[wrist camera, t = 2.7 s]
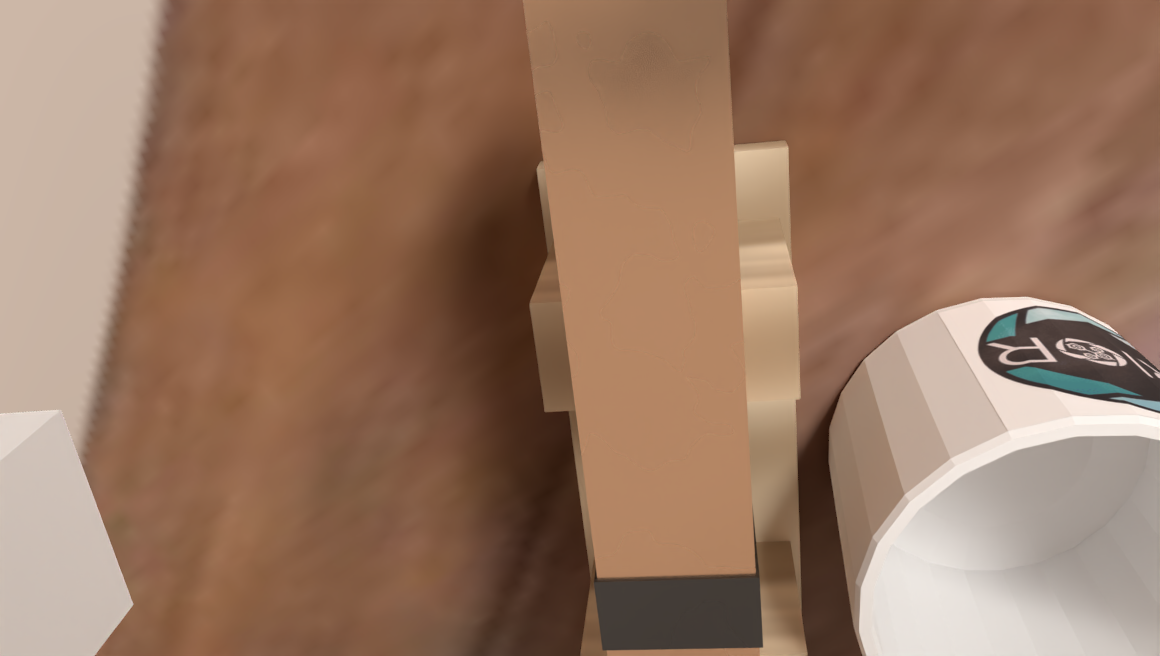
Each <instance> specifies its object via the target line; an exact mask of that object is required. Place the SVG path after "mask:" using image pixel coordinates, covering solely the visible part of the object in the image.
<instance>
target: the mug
mask: <svg viewBox="0 0 1160 656" xmlns="http://www.w3.org/2000/svg"><path fill="white" fill-rule="evenodd" d="M828 463H829V468H830V475H831V481H832V488H833V494H834V501H835V508H836V514H837V521H838V527H839V534H840V541H841V547H842V554H843V560H844V567H845V574H846V580H847V587H848V593H849V600H850V607H851V613H852V620H853V626H854V630H855V633H856V636H857V640H858V643H859V646H860V649H861V653H862V656H1160V371H1159V370H1158V369H1157V368H1156V367H1155V366H1154V365H1153V364H1152V363H1150V362H1149V361H1148V360H1147V359H1146V358H1145V357H1144V356H1143V355H1141V354H1140V353H1139V352H1138V351H1137V350H1136V349H1135V348H1134V347H1132V346H1131V345H1130V344H1129V343H1128V342H1127V341H1126V340H1125V339H1124V338H1122V337H1121V336H1120V335H1119V334H1118V333H1117V332H1116V331H1115V330H1113V329H1112V328H1111V327H1110V326H1109V325H1107V324H1105V323H1103V322H1101V321H1099V320H1098V319H1096V318H1094V317H1092V316H1090V315H1088V314H1086V313H1084V312H1082V311H1080V310H1078V309H1076V308H1074V307H1072V306H1068V305H1064V304H1059V303H1054V302H1049V301H1045V300H1040V299H1035V298H1030V297H1008V298H981V299H977V300H973V301H969V302H966V303H962V304H958V305H954V306H951V307H947V308H943V309H939V310H936V311H934V312H932V313H930V314H928V315H926V316H924V317H923V318H921V319H919V320H917V321H915V322H913V323H911V324H909V325H907V326H905V327H904V328H902V329H900V330H898V331H896V332H895V333H894V334H893V335H891V336H890V337H889V338H888V339H887V340H886V341H885V342H883V343H882V344H881V345H880V346H879V347H878V348H877V349H875V350H874V351H873V352H872V353H871V354H870V355H869V356H867V357H866V358H865V359H864V360H863V362H862V363H861V365H860V366H859V367H858V369H857V370H856V372H855V373H854V375H853V376H852V378H851V379H850V381H849V382H848V383H847V385H846V386H845V388H844V389H843V391H842V392H841V395H840V398H839V401H838V404H837V407H836V410H835V413H834V416H833V419H832V421H831V424H830V427H829V461H828Z"/></svg>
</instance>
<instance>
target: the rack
mask: <svg viewBox="0 0 1160 656" xmlns="http://www.w3.org/2000/svg"><path fill="white" fill-rule="evenodd" d="M734 160H735V179H736V199H737V218H738V237H739V257H740V276H741V296H742V315H743V335H744V354H745V373H746V393H747V412H748V432H749V451H750V471H751V490H752V506H753V516H754V526H755V536H756V546H757V556H758V566H759V576H760V593H761V614H762V634H763V648H760V656H808V655H807V647H806V641H805V634H804V627H803V621H802V600H801V566H800V532H799V498H798V464H797V430H796V399H800V363H799V326H798V290H797V283H796V279H795V275H794V271H793V268H792V261H791V228H790V194H789V160H788V146H787V143H786V140H785V141H774V142H762V143H750V144H739V145H734ZM537 176H538V184H539V191H540V199H541V207H542V214H543V222H544V229H545V237H546V244H547V252H548V256H547V259H546V261H545V264H544V266H543V269H542V272H541V274H540V277H539V280H538V282H537V285H536V287H535V290H534V293H533V295H532V298H531V300H530V303H529V305H530V312H531V319H532V326H533V333H534V340H535V347H536V354H537V361H538V368H539V375H540V382H541V389H542V396H543V403H544V410H545V412H557V411H569V418H570V426H571V434H572V441H573V449H574V456H575V464H576V471H577V479H578V486H579V494H580V502H581V509H582V517H583V524H584V532H585V539H586V547H587V555H588V562H589V570H590V577H591V582H590V589H589V596H588V603H587V610H586V617H585V624H584V631H583V638H582V645H581V652H580V656H607V650H605V651H603V649H602V641H601V634H600V626H599V619H598V611H597V603H596V596H595V588H594V577H595V570H596V564H595V557H594V549H593V541H592V533H591V526H590V518H589V510H588V502H587V495H586V487H585V479H584V471H583V464H582V456H581V448H580V440H579V433H578V425H577V417H576V409H575V402H574V394H573V386H572V378H571V371H570V363H569V355H568V347H567V340H566V332H565V324H564V316H563V308H562V301H561V293H560V285H559V277H558V270H557V262H556V254H555V246H554V239H553V231H552V223H551V215H550V208H549V200H548V192H547V184H546V177H545V169H544V161H541V162H540V163H539V165H538V167H537Z"/></svg>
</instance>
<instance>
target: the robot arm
mask: <svg viewBox="0 0 1160 656" xmlns="http://www.w3.org/2000/svg"><path fill="white" fill-rule="evenodd" d="M132 606H133V602H132V600H131V597H130V594H129V591H128V589H127V586H126V583H125V581H124V578H123V575H122V573H121V570H120V567H119V565H118V562H117V559H116V556H115V554H114V551H113V548H112V546H111V543H110V540H109V538H108V535H107V532H106V529H105V527H104V524H103V521H102V519H101V516H100V513H99V511H98V508H97V505H96V502H95V500H94V497H93V494H92V492H91V489H90V486H89V484H88V481H87V478H86V476H85V473H84V470H83V467H82V465H81V462H80V459H79V457H78V454H77V451H76V449H75V446H74V443H73V440H72V438H71V435H70V432H69V430H68V427H67V425H66V422H65V419H64V416H63V413H62V411H61V410H49V411H35V412H34V411H33V412H20V413H5V414H0V656H95V654H96V653H97V652H98V650H99V649H100V648H101V646H102V645H103V644H104V643H105V641H106V640H107V639H108V637H109V636H110V635H111V633H112V632H113V631H114V629H115V628H116V627H117V626H118V624H119V623H120V622H121V620H122V619H123V618H124V616H125V615H126V614H127V613H128V611H129V610H130V609H131V607H132Z"/></svg>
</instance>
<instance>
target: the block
mask: <svg viewBox="0 0 1160 656" xmlns="http://www.w3.org/2000/svg"><path fill="white" fill-rule="evenodd" d="M523 6H524V14H525V22H526V29H527V37H528V45H529V53H530V60H531V68H532V76H533V84H534V91H535V99H536V107H537V115H538V122H539V130H540V138H541V146H542V153H543V161H544V169H545V177H546V184H547V192H548V200H549V208H550V215H551V223H552V231H553V239H554V246H555V254H556V262H557V270H558V277H559V285H560V293H561V301H562V308H563V316H564V324H565V332H566V340H567V347H568V355H569V363H570V371H571V378H572V386H573V394H574V402H575V409H576V417H577V425H578V433H579V440H580V448H581V456H582V464H583V471H584V479H585V487H586V495H587V502H588V510H589V518H590V526H591V533H592V541H593V549H594V557H595V564H596V570H595V577H594V588H595V596H596V603H597V611H598V619H599V626H600V634H601V641H602V649H603V651H605V650H607V656H760V648H763V634H762V614H761V593H760V576H759V566H758V556H757V546H756V536H755V526H754V516H753V506H752V490H751V471H750V451H749V432H748V412H747V393H746V373H745V354H744V335H743V315H742V296H741V276H740V257H739V237H738V218H737V199H736V179H735V160H734V140H733V121H732V101H731V82H730V62H729V43H728V24H727V4H726V0H523Z"/></svg>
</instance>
